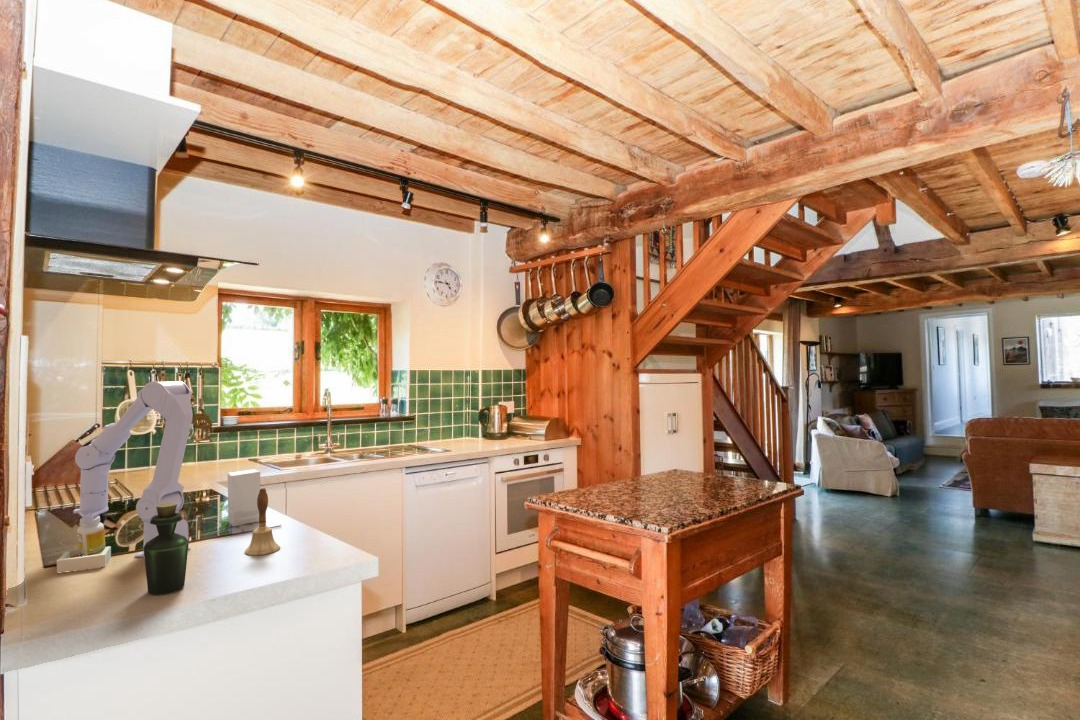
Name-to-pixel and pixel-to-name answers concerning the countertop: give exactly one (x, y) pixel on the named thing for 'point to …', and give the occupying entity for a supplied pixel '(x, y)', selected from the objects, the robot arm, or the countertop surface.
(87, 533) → the supplement bottle
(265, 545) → the hand bell
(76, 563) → the tray
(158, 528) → the potion bottle
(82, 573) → the countertop surface
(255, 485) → the skincare box
